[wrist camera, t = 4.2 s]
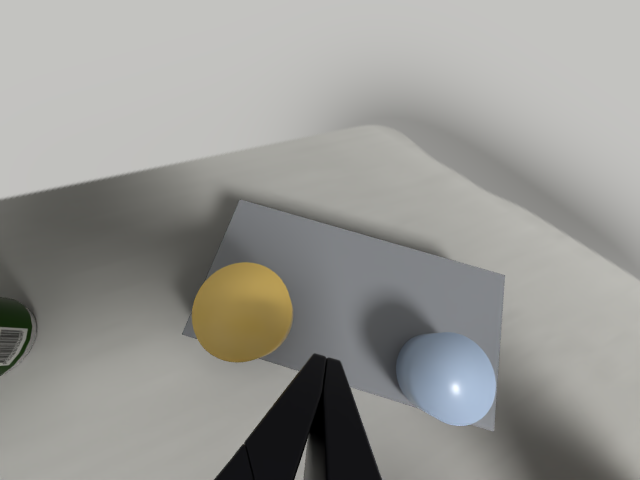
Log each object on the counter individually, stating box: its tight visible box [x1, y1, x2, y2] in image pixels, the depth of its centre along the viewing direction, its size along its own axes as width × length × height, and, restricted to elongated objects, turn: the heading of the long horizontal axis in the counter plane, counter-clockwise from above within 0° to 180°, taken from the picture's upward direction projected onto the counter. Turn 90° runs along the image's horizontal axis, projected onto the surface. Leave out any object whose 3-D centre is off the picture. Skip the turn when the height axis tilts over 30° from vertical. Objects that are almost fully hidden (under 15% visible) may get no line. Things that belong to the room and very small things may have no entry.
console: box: [182, 199, 505, 432], centre depth 20 cm, size 18×9×4 cm, turn 74°
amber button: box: [192, 262, 293, 362], centre depth 15 cm, size 4×4×6 cm
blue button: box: [396, 332, 496, 426], centre depth 17 cm, size 4×4×6 cm
